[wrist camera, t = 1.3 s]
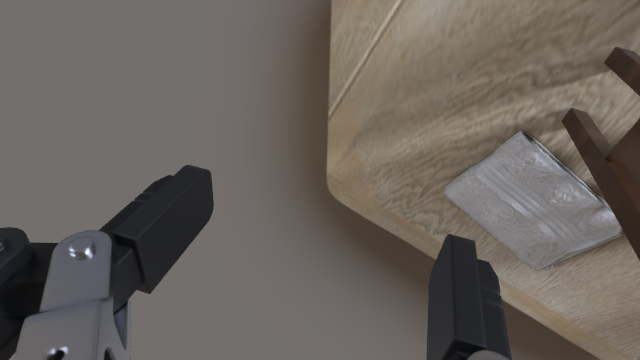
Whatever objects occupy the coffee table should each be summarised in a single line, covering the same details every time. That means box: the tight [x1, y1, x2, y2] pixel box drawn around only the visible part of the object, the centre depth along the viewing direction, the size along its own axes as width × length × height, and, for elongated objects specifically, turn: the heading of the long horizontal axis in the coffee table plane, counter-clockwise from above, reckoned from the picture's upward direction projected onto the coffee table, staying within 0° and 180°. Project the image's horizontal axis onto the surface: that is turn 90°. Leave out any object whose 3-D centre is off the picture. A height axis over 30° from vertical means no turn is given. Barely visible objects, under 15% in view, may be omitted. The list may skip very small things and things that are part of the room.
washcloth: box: [444, 131, 622, 270], centre depth 43 cm, size 12×18×3 cm, turn 55°
